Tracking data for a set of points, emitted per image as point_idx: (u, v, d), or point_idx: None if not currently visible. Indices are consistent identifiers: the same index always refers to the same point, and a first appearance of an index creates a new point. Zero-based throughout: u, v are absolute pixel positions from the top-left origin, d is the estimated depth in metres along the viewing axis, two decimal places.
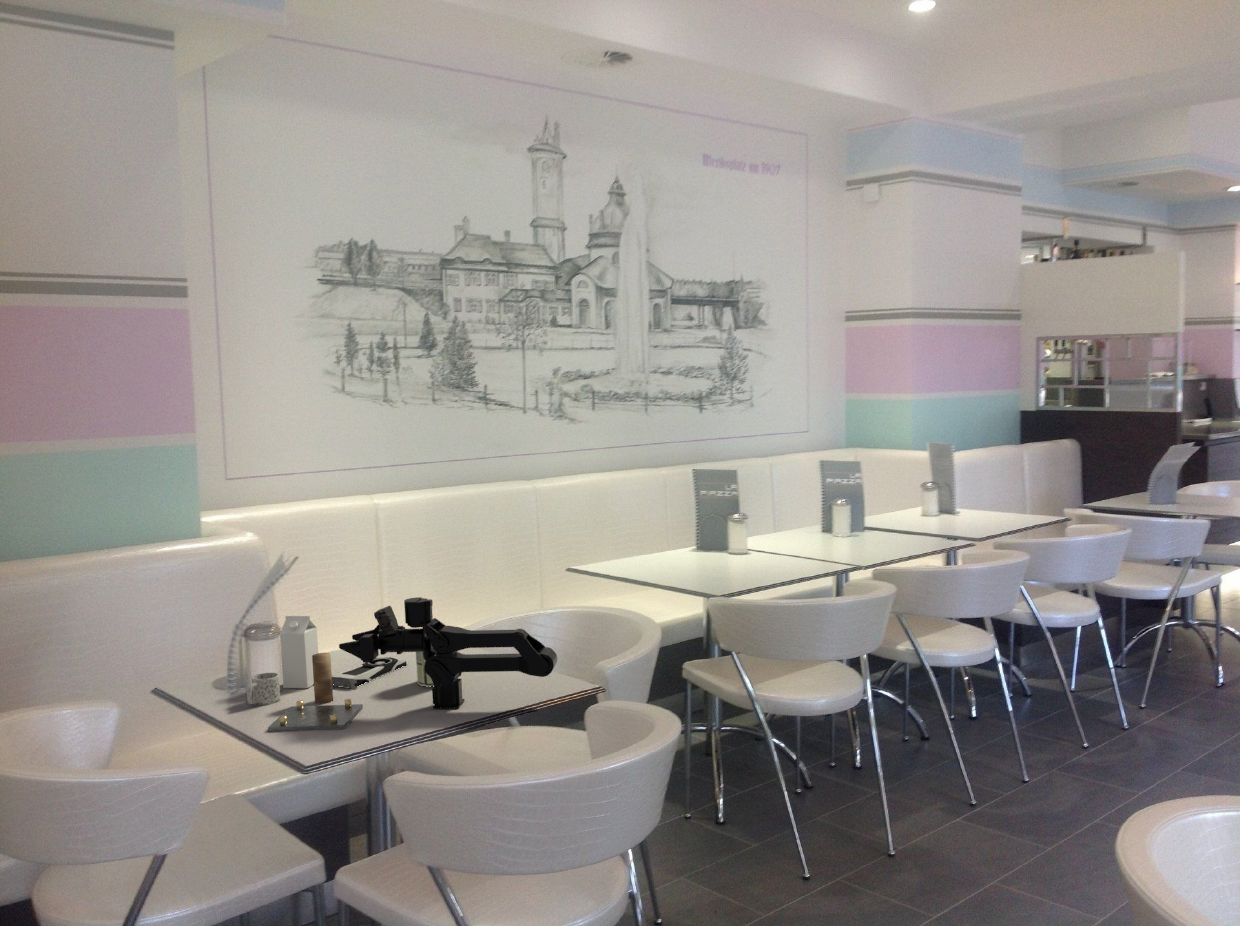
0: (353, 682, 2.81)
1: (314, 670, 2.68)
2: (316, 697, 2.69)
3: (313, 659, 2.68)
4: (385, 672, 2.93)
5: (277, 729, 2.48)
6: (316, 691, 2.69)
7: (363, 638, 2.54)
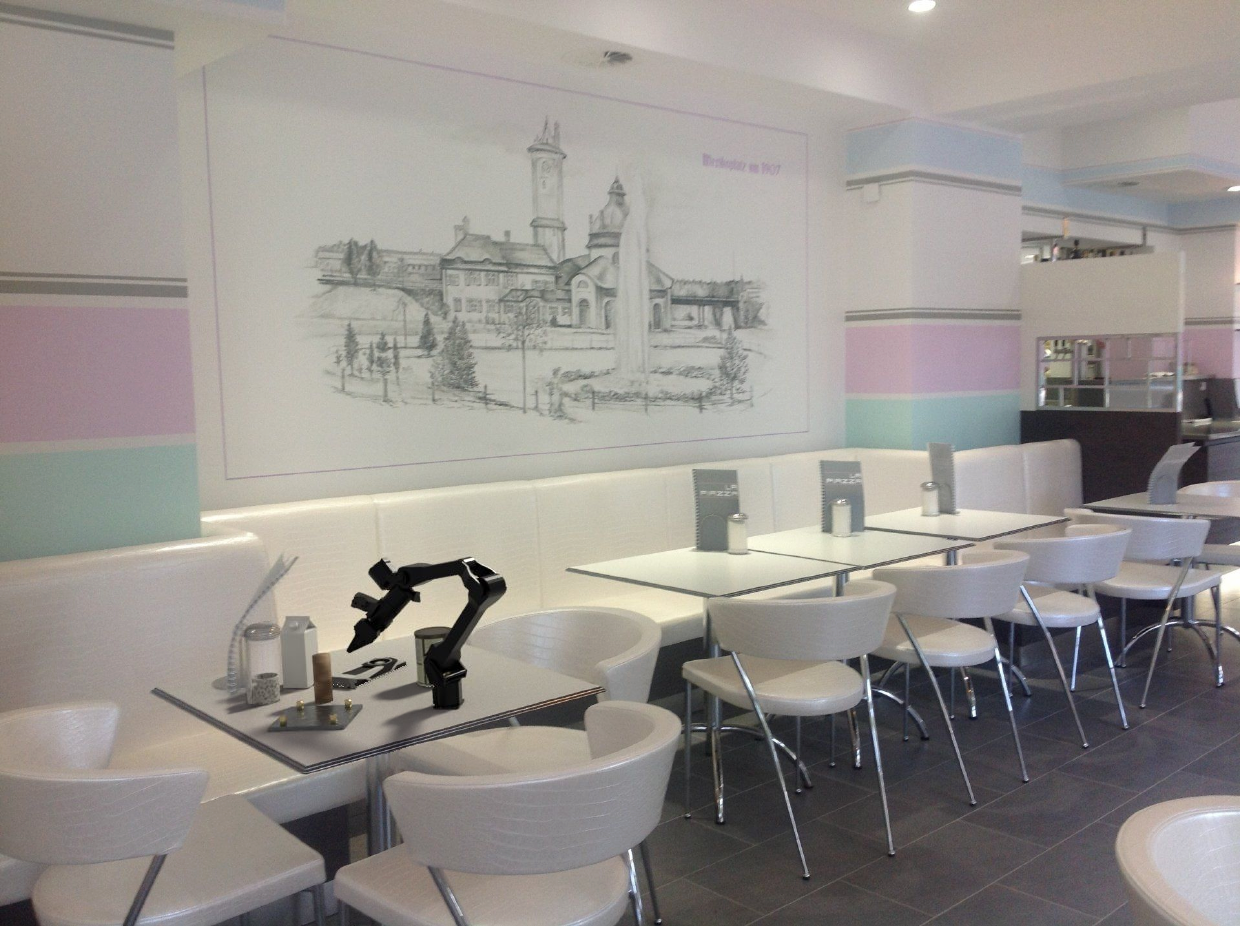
0: (353, 682, 2.81)
1: (314, 670, 2.68)
2: (316, 697, 2.69)
3: (313, 659, 2.68)
4: (385, 672, 2.94)
5: (277, 729, 2.48)
6: (316, 691, 2.69)
7: (355, 625, 2.60)
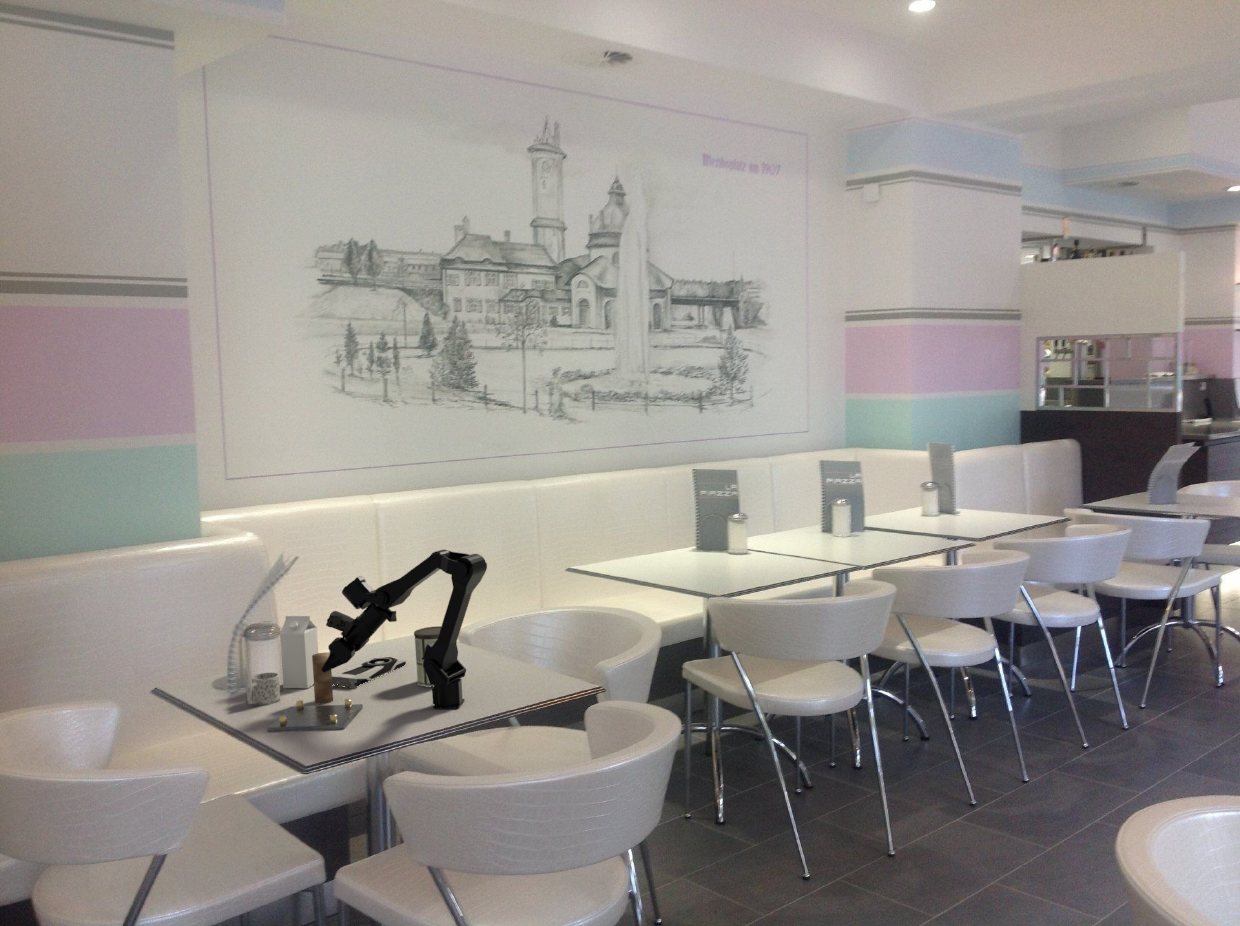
0: (353, 682, 2.81)
1: (314, 670, 2.68)
2: (316, 697, 2.69)
3: (313, 659, 2.68)
4: (385, 672, 2.94)
5: (277, 729, 2.48)
6: (316, 691, 2.69)
7: (329, 645, 2.60)
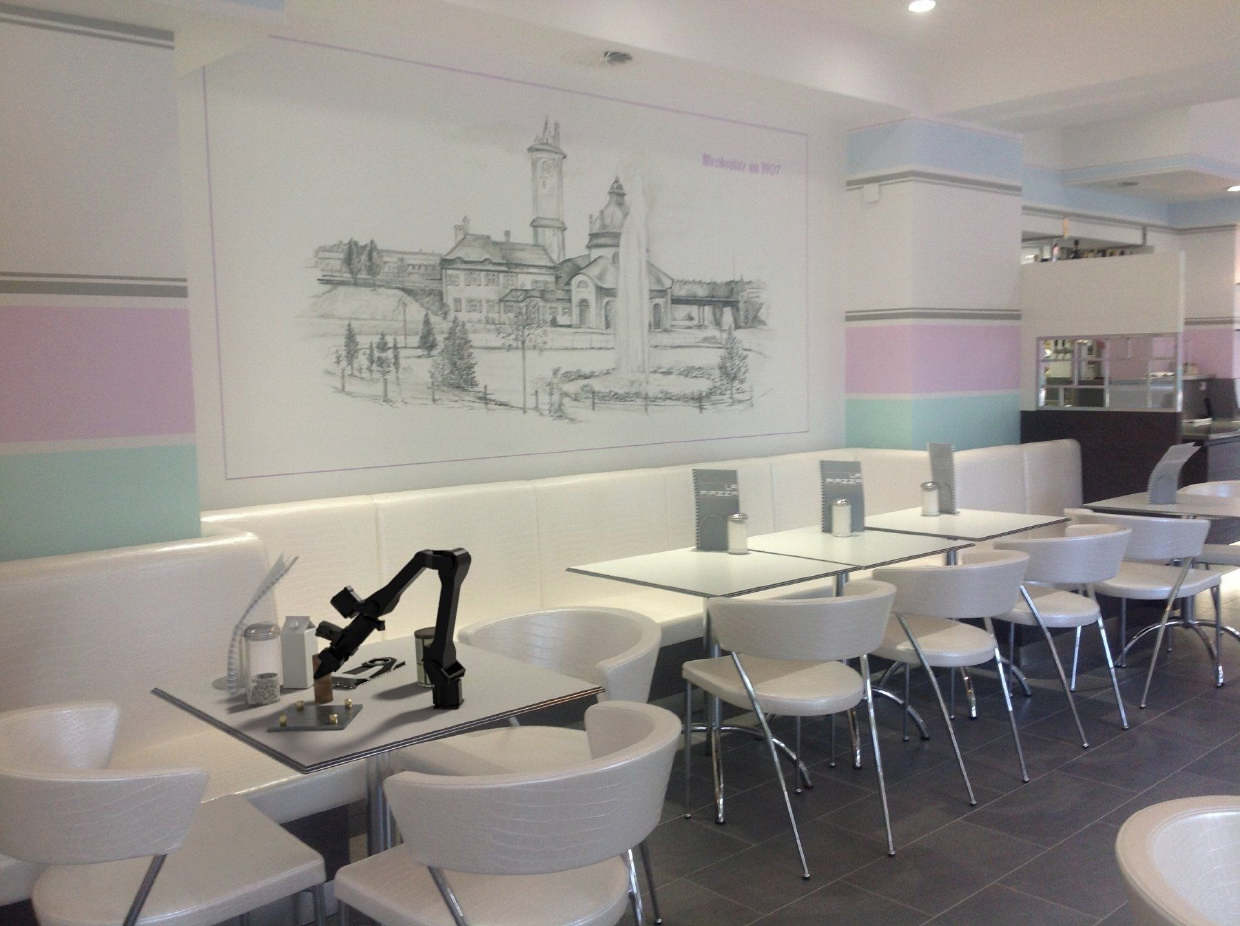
0: (353, 681, 2.81)
1: (314, 670, 2.68)
2: (316, 697, 2.69)
3: (313, 659, 2.68)
4: (384, 671, 2.94)
5: (277, 729, 2.48)
6: (316, 691, 2.69)
7: (318, 655, 2.61)
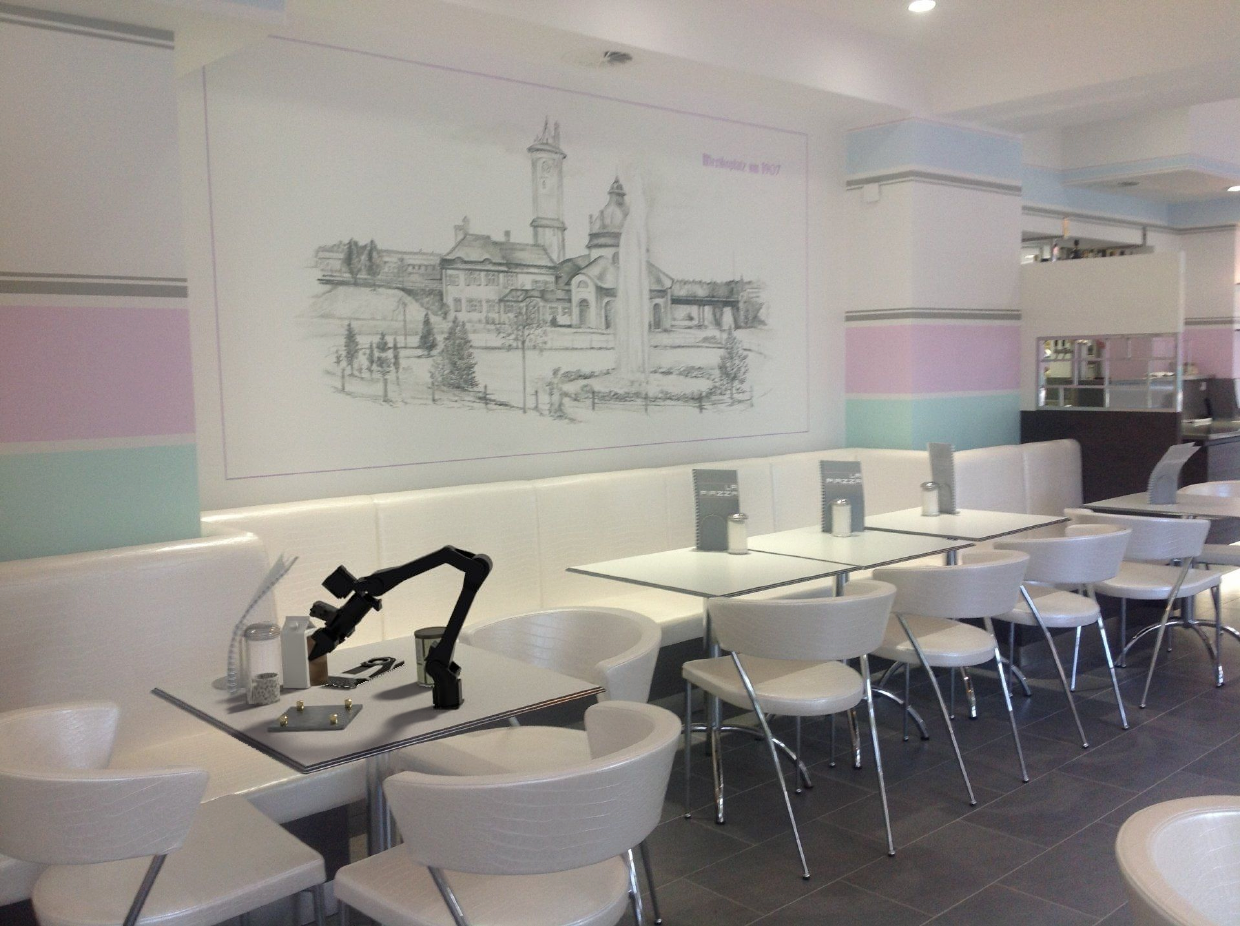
0: (353, 681, 2.82)
1: (308, 651, 2.60)
2: (311, 679, 2.60)
3: (307, 640, 2.60)
4: (384, 671, 2.94)
5: (277, 729, 2.48)
6: (311, 673, 2.60)
7: (312, 635, 2.52)
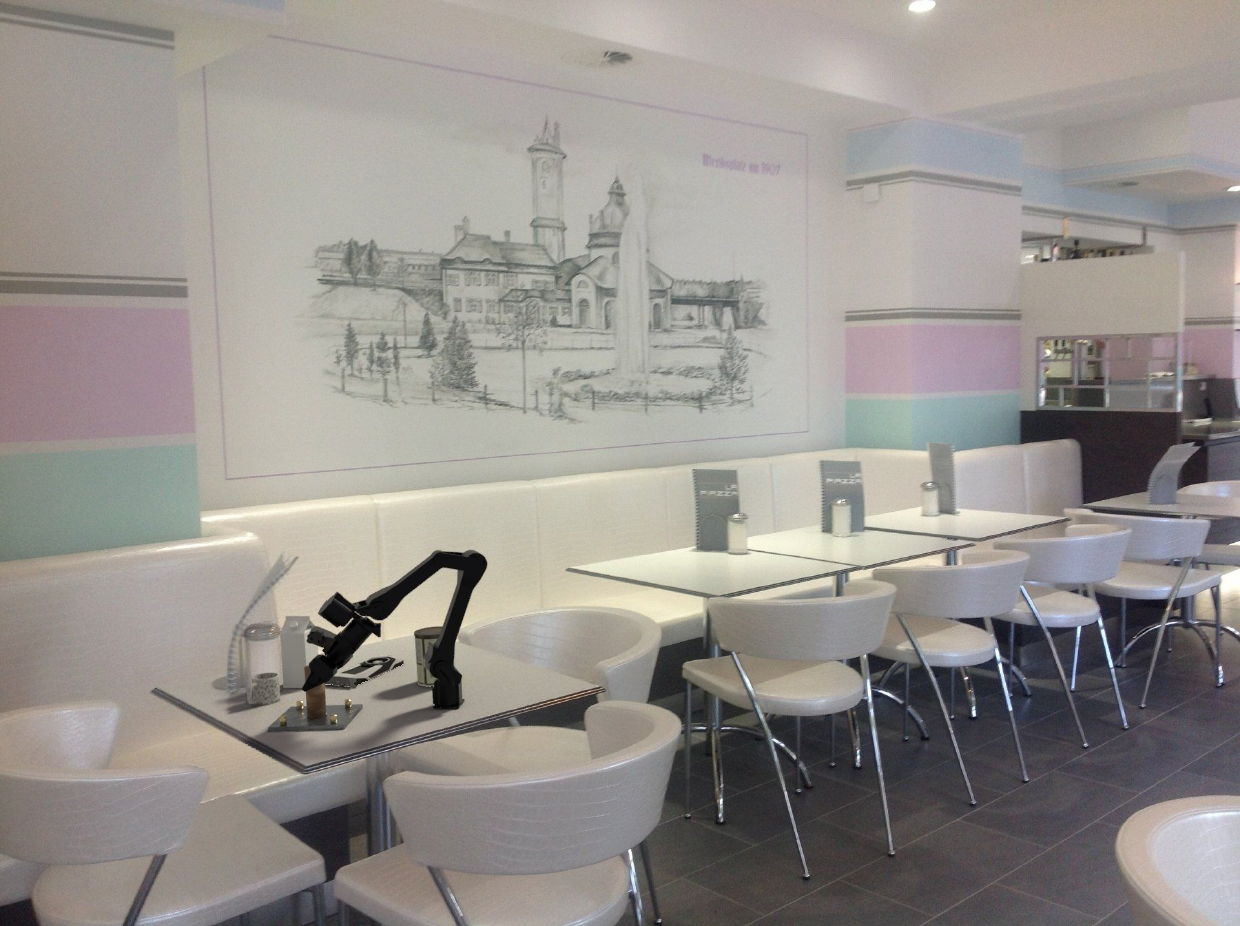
0: (353, 681, 2.82)
1: None
2: (308, 711, 2.53)
3: (305, 671, 2.53)
4: (383, 671, 2.95)
5: (277, 729, 2.48)
6: (308, 705, 2.53)
7: (310, 663, 2.45)
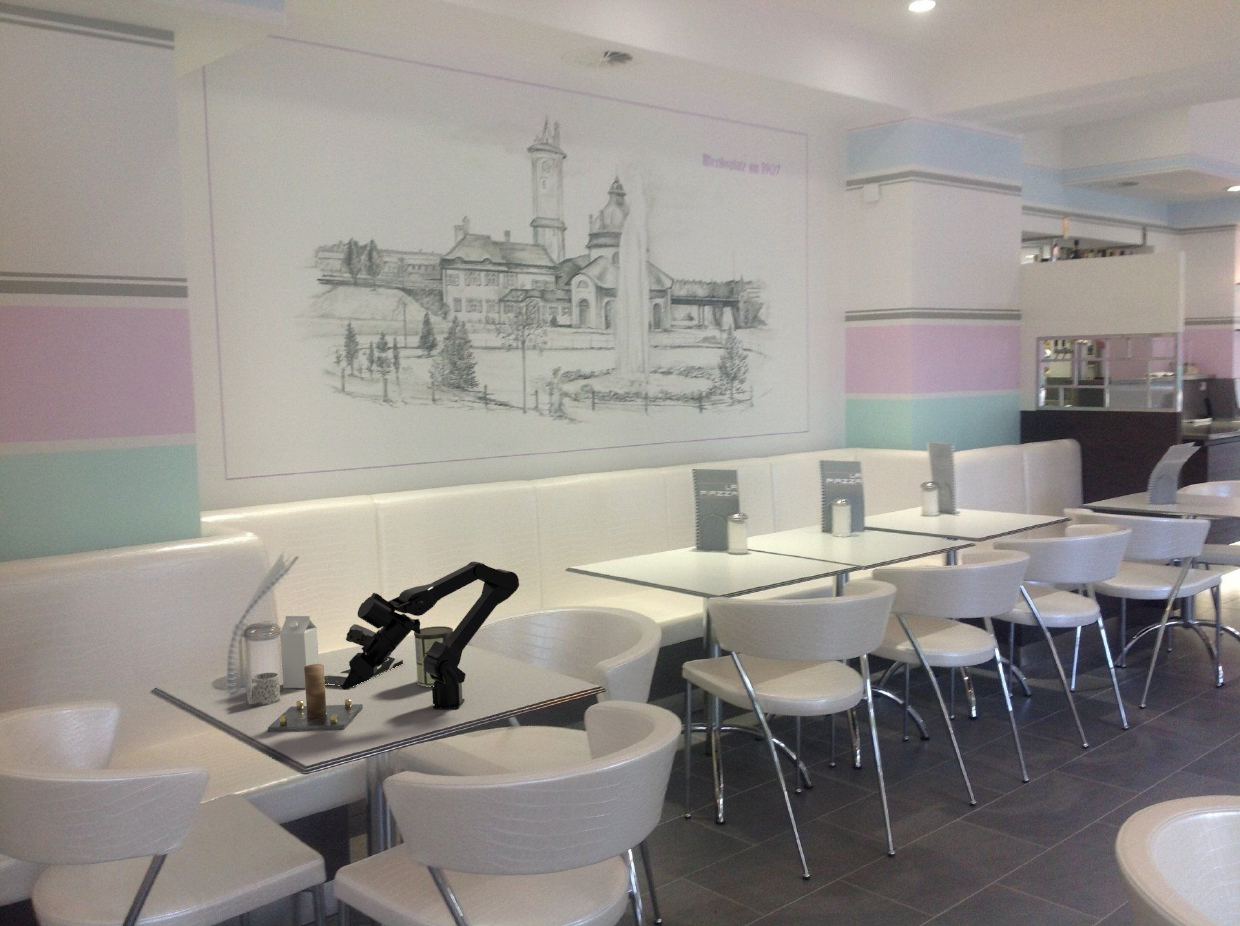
0: None
1: (306, 683, 2.53)
2: (308, 711, 2.53)
3: (305, 671, 2.53)
4: (383, 671, 2.95)
5: (277, 729, 2.48)
6: (308, 705, 2.53)
7: (350, 661, 2.45)
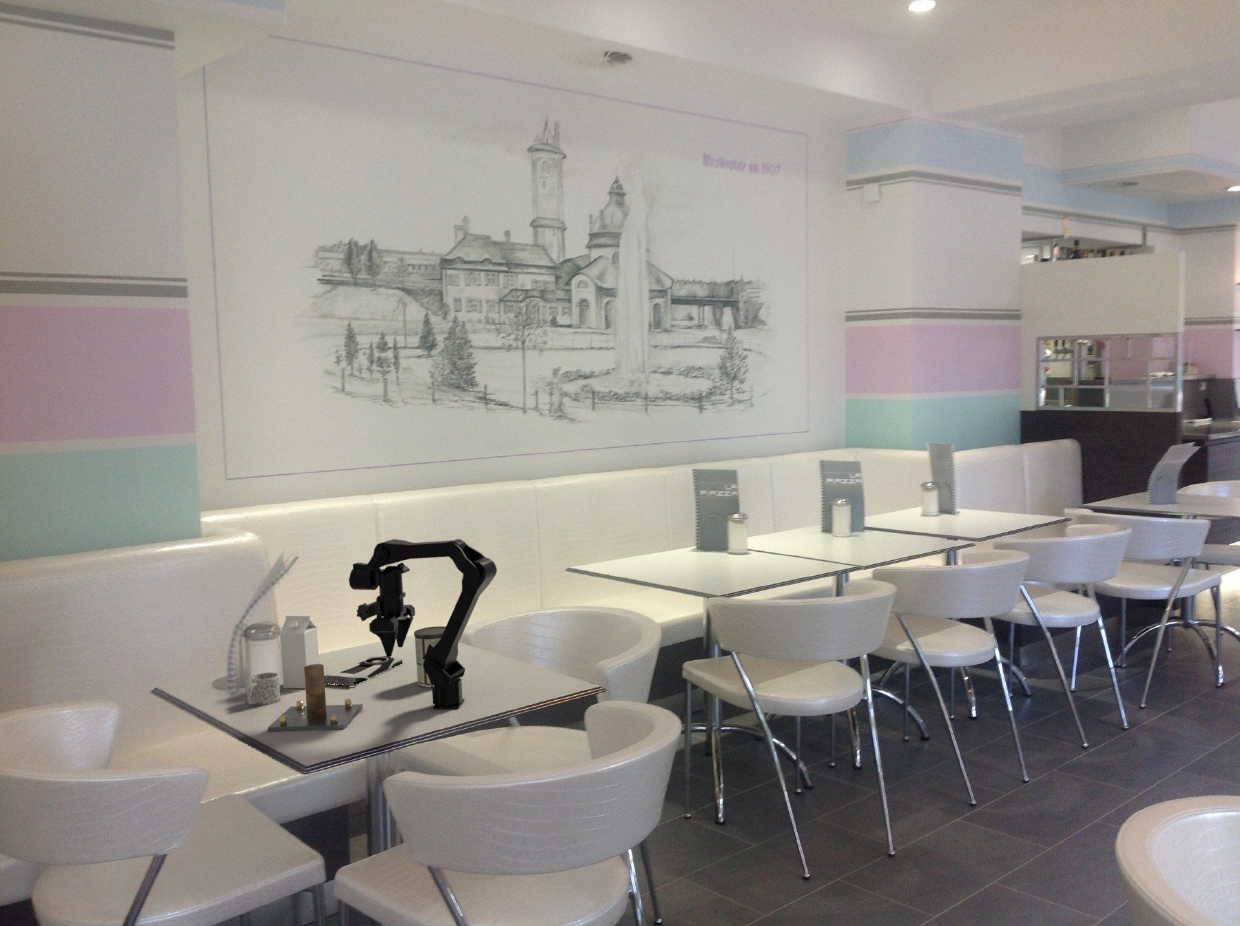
0: (352, 680, 2.82)
1: (306, 683, 2.53)
2: (308, 711, 2.53)
3: (305, 671, 2.53)
4: (382, 670, 2.95)
5: (277, 729, 2.48)
6: (308, 705, 2.53)
7: (370, 629, 2.56)
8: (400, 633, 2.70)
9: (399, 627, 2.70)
